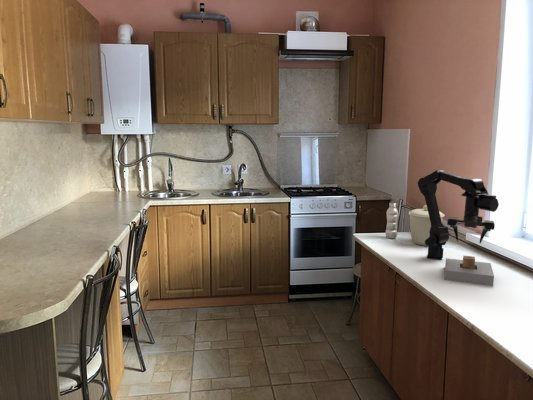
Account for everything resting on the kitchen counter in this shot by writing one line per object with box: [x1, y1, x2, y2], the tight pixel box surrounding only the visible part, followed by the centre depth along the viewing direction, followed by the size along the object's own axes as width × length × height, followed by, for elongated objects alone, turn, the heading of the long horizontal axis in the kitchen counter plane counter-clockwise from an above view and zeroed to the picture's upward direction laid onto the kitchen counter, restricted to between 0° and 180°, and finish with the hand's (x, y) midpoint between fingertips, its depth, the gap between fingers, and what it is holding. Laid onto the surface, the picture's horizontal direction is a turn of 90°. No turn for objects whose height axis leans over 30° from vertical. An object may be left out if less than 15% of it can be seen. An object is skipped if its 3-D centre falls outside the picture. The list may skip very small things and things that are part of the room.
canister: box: [408, 204, 446, 247], centre depth 235 cm, size 18×18×21 cm
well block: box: [444, 257, 495, 286], centre depth 186 cm, size 18×18×4 cm
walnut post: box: [462, 255, 476, 269], centre depth 186 cm, size 4×4×8 cm
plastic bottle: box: [384, 202, 399, 239], centre depth 247 cm, size 6×7×20 cm
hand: (468, 242), depth 195 cm, fingers open, 9 cm apart
